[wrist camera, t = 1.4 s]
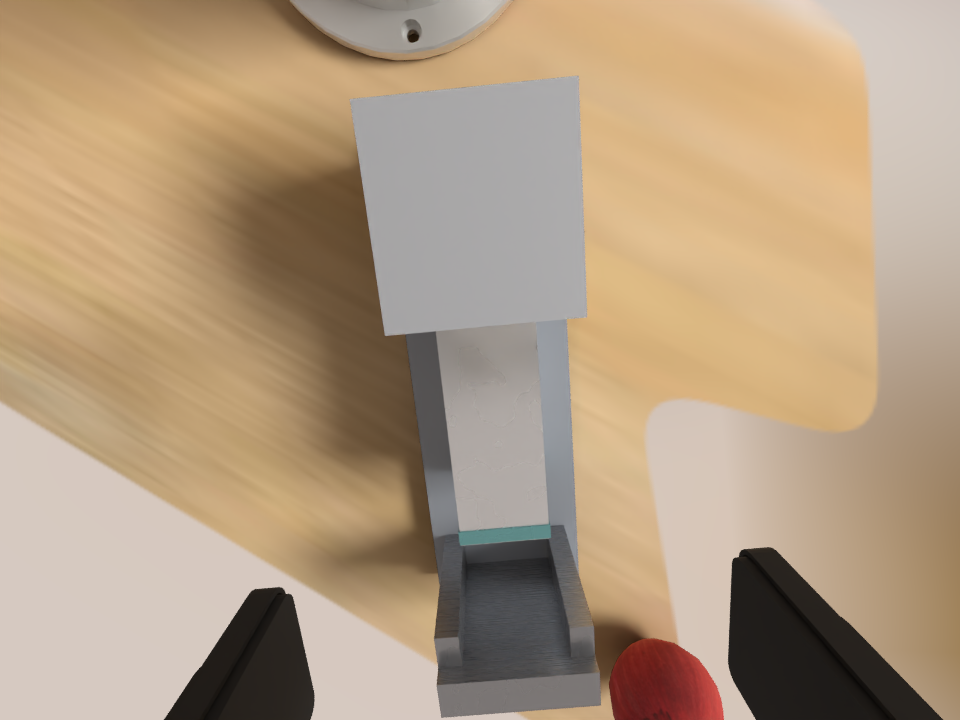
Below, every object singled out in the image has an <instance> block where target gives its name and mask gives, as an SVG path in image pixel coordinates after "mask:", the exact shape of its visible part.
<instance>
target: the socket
mask: <svg viewBox="0 0 960 720" xmlns="http://www.w3.org/2000/svg"><path fill="white" fill-rule="evenodd" d="M550 528H551V538H548V539H547V553H548V557H543V558H531V559H519V560H507V561H495V562H483V563H471V564H467V560H466V552H465V546H460V542H459V534H448V535H445V543H444V553H443V562H442V571H441V580H440V589H439V599H438V608H437V617H436V626H435V636H434V641H435V648H436V655H437V662H438V677H437V691H438V697H439V704H440V711H441V717H442V718H443V717H454V716H469V715H482V714H495V713H507V712H521V711H534V710H547V709H560V708H573V707H586V706H599V705H601V692H600V671H599V668H598V664H597V661H596V657H595V642H594V625H593V621H592V618H591V615H590V611H589V608H588V605H587V601H586V598H585V595H584V591H583V588H582V584H581V581H580V578H579V574H578V571H577V568H576V564H575V561H574V558H573V554H572V551H571V548H570V544H569V541H568V537H567V534H566V531H565V527H564V525H555V526H550Z"/></svg>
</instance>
